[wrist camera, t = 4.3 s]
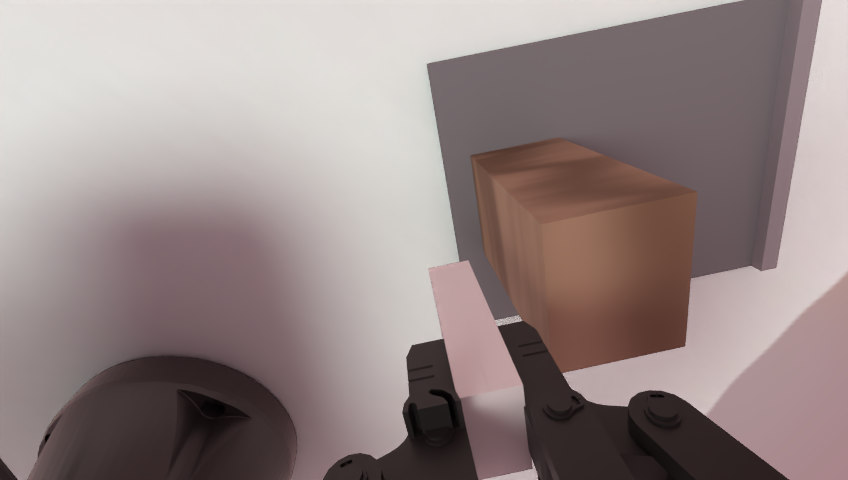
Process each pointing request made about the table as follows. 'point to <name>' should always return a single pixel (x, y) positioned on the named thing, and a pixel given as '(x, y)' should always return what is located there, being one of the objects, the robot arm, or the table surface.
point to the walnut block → (587, 249)
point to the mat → (646, 118)
